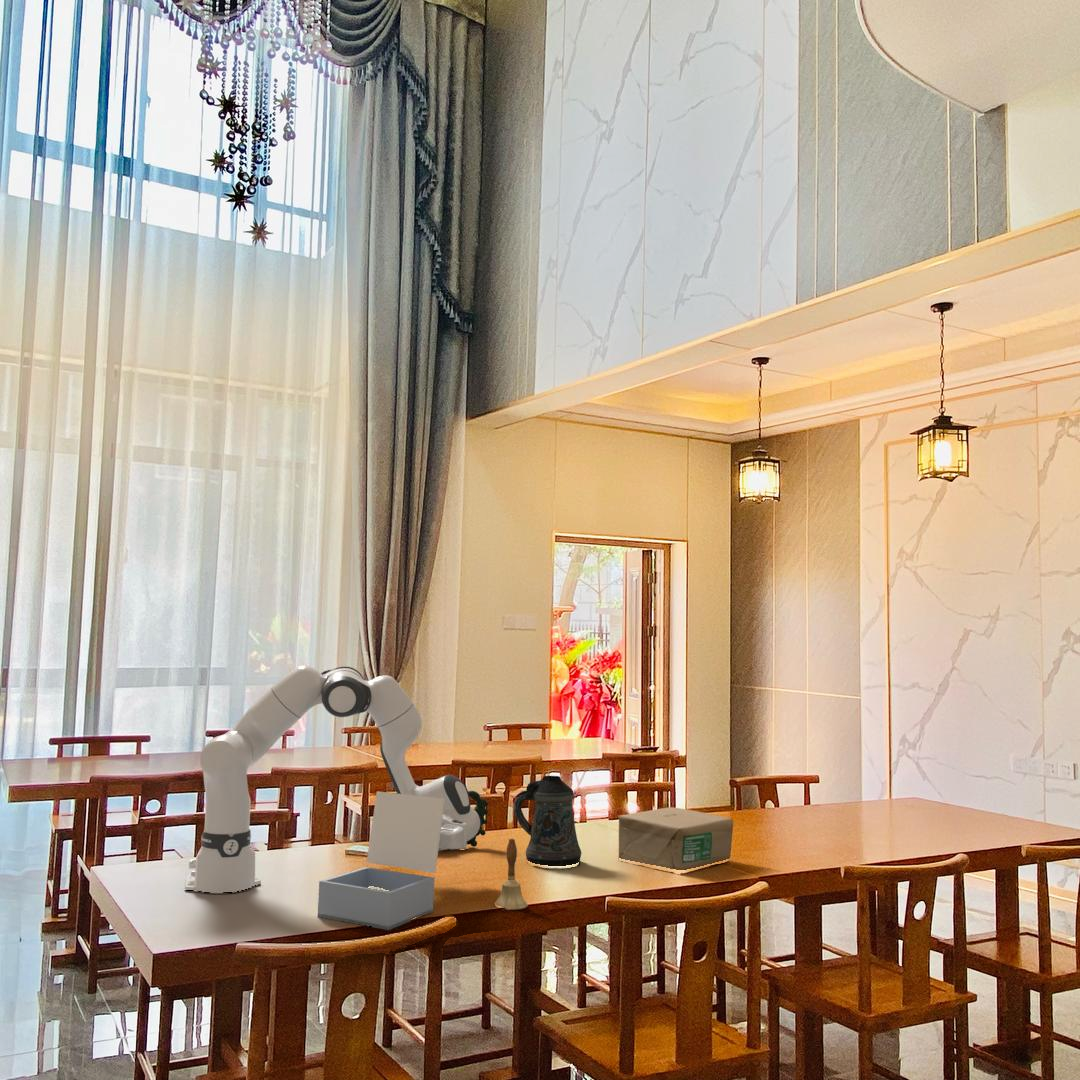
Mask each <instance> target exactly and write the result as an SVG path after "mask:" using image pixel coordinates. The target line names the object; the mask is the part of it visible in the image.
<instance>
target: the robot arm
mask: <svg viewBox="0 0 1080 1080" xmlns="http://www.w3.org/2000/svg"><path fill="white" fill-rule="evenodd" d="M397 681H398V680H397V679H395V678H394V677H393V676H391V675H388V674H383V675H379V676H376V677H374V678H372V679H370V680H365V679H364V677H363V675H362V673H361V672H360V671H359V670H357V669H356V668H354V667H352V666H340V667H336V668H332V669H328V670H324V671H322V672H321V673H320V672H319V671H318V669H315V668H314V667H312V666H310V665H304V664H303V665H300V666H297V667H295V668H294V669H293V670H291V671H290V672H289V673H287V674H286V675H284V676H283V677H282V678H281V679H279V680H278V681H277V682H276V683H274V684H273V685H272V686H271V687H270V688H269V689H268V690H267V691H265V693H264V694H263V695H261V696H260V698H258V699H257V700H256V701H255V702H254V703H253V704H252V705H251V706H250V707H249V708H248V710H247V711H246V712H245V714H244V715H243V716H242V717H241V718H240V719H239V721H238V722H237V723H236V724H235V725H234V726H233V727H232V728H231V729H230V730H228V731H227V732H226V733H223V734H221V735H217V736H215V737H213V738H211V739H210V740H209V741H208V742H207V743H206V744H205V745H204V747H203V749H202V751H201V752H200V756H199V763H200V767H201V769H202V775H203V784H204V793H205V814H204V829H203V831H202V835H201V839H200V840H201V841H200V842H201V843H200V844H201V847H200V849H199V850H198V853H197V855H196V857H195V858H192V859H190V860H188V861H189V862H188V863H189V864H188V869H189V870H191V873H188V874H186V879H185V884H184V890H185V889H186V890H196V891H195V892H198V891H202V892H201V893H204V892H210V893H209V894H224V893H223V892H232V893H238V892H237V891H239V892H242V891H241V890H244V891H246V890H245V889H247V890H249V889H248V888H250V889H252V888H253V887H256V886H259V885H258V884H260V885H262V880H261V879H260V878H258V877H256V851H254V849H252V848H251V847H250V845H251V838H252V835H251V834H252V833H251V829H250V822H251V821H250V820H251V818H250V817H251V803H252V802H251V796H250V793H249V785H248V775H247V774H248V770H250V769H252V768H253V767H254V765H255V764H257V762H258V761H260V759H261V758H262V757H264V755H266V754H267V752H268V751H269V750H270V749H271V748H272V747H273V746H274V745H275V743H276V742H277V741H278V740H279V739H280V738H281V737H282V736H284V735H285V734H286V733H287V731H289V730H290V729H291V728H292V727H293V726H294V725H295V724H296V723H297V722H299V720H300V719H301V718H302V717H303V716H304V715H306V714H307V712H308V711H309V710H310V709H312V708H313V707H315V706H317V705H321V704H322V706H323V707H324V709H325V710H326V711H327V712H328V713H329V714H330V715H331V716H334V717H338V718H348V717H351V716H355V715H358V714H362V713H366V712H367V713H368V714H369V715H370V716H371V718H372V720H373V721H374V723H375V725H376V726H377V729H378V731H379V733H380V736H381V743H380V745H379V747H380V748H379V749H380V754H381V755H380V756H381V757H382V760H383V762H384V765H385V768H386V770H387V773H388V775H389V777H390V780H391V782H392V785H393V787H394V789H395V791H396V792H395V793H397V794H406V795H415V796H424V797H432V798H441V799H445V801H444V802H445V803H444V811H443V817H442V825H441V833H440V840H439V848H438V852H439V851H442V850H443V851H444V850H447V849H452V850H460V849H465V850H466V848H467V846H468V844H467V841H469V840H470V839H472V838H473V837H474V836H475V835H476V834H477V832H478V830H479V828H480V818H479V815H478V814H477V812H476V811H475V810H474V808H473V807H472V806H471V797H469V793H468V791H469V790H468V788H467V785H466V784H465V783H464V782H463V781H462V780H461V779H460V778H459V777H457V776H455V775H452V774H446V775H443V776H441V777H439V778H436V779H434V780H433V781H431V782H428V783H426V784H424V785H420V786H419V785H418V784H416V783H415V780H414V778H413V777H412V774H411V771H410V769H409V766H408V764H407V761H406V752H407V751H408V750H409V748H410V747H411V746H412V745H413V743H415V741H416V740H417V738H418V737H419V736H420V734H421V730H422V726H423V725H422V724H423V721H422V717H421V714H420V712H419V711H418V709H417V707H416V705H415V703H414V702H413V701H412V699H411V698H410V696H409V695H408V693H407V692H406V691H405V689H404V688H403V687H402V686H401V685H400V683H399V682H397ZM255 885H256V886H255ZM252 886H253V887H252Z"/></svg>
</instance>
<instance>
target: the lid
mask: <svg viewBox="0 0 1080 1080" xmlns="http://www.w3.org/2000/svg"><path fill="white" fill-rule="evenodd" d="M444 801H445V799H441V798H432V797H424V796H415V795H406V794H397V792H385V791H376V795H375V802H374V810H373V816H372V823H371V830H370V837H369V842H368V843H369V844H368V851H367V856H366V857H367V858H366V863H368V864H375V865H380V866H387V867H395V868H400V869H407V870H414V871H418V872H419V871H421V872H427V873H431V874H432V873H436V870H437V863H438V854H439V851H438V848H439V840H440V833H441V825H442V817H443V811H444V803H445V802H444Z"/></svg>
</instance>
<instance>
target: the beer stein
mask: <svg viewBox="0 0 1080 1080" xmlns="http://www.w3.org/2000/svg"><path fill="white" fill-rule="evenodd" d="M574 797H575V792H574V790H573V789H572V788H571V787H570V786H568V784H567V783H566V782H564V781H563V780H562V778H561V776H559V775H544V776H542V778H541V779H540V780H534V781H530V782H529V783H528V784H527V786H526V789H525V790H522V791H520V792H519V793H517V794H516V795H515V799H514V801H513V812H514V816H515V819H516V820H517V822H518V823H519V825H520V826H521V828H522V829H523V830H524V831H525V832H526V833H527V834H528V835H529V836H530V838H529V841H528V845H527V847H526V850H525V856H526V861H527V860H528V861H530V862H532V863H535V864H540V865H548V866H566V865H572V864H576V863H578V862H580V863H581V857H582V849H581V847H580V844H579V841H578V835H577V831H576V823H575V815H574V810H573V809H574V808H573V800H574V799H575V798H574ZM525 801H534V809H533V810H534V812H533V817H532V824H530V822H529V821H528V819H526V817H525V815H524V813H523V809H522V805H523V803H524V802H525Z"/></svg>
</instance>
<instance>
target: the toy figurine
mask: <svg viewBox="0 0 1080 1080" xmlns="http://www.w3.org/2000/svg"><path fill="white" fill-rule="evenodd" d="M468 793H469V797H470V799H471V800H473V801H475V806H474V808H473V809H474V810H475V811H476V812H477V814H478V815H479V818H480V828H479V830H478V832H477V834H476V835H475V836H474V837H473V838H472V839H470V840H469V841H467V846H468V845H470V846H471V847H473V848H474V847H477V845H478V841H477V840H476V839H477V837H479V836H485V835H486V831H485V829H483V825H487V823H488V820H487V819H485V816H486V815H488V814H489V811H488V809H487V807H488V806H489V802H488V801H487V800H486V798H484V797H481V796H480V794H479V793H478V792H477V791H475V790H468ZM446 851H453V849H446Z"/></svg>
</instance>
